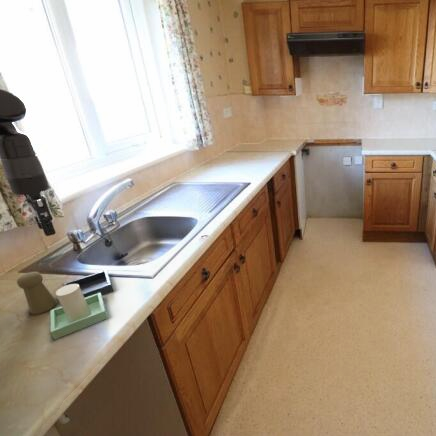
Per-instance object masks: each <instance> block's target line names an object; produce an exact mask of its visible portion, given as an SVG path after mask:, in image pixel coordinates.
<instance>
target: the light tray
mask: <svg viewBox="0 0 436 436" xmlns="http://www.w3.org/2000/svg"><path fill="white" fill-rule="evenodd" d="M85 300H86V302H87V304H88V306H89V308H90V311H91V314H90V315H89V316H87V317H84V318H81V319H79V320H76V321H74V322H69V320H68V318H67V316H66V314H65V312H64V310H63V308H62V306H61V305H60V306H58V307H56V308H52V309H50V310H49V312H50V314H49V315H50V318H49V319H50V334H51V336H52V338H53V340H57V339H59V338H61V337H65V336H67V335H70V334H72V333H75V332H77V331H80V330H82V329H84V328H87V327H89V326H92V325H94V324H98V323H99V322H102V321H104V320H107V319H108V318H109V316H108V313H107V308H106V305H105V301H104V298H103V295H101V293H97V294H94V295H92V296H89V297H86V298H85Z"/></svg>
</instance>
